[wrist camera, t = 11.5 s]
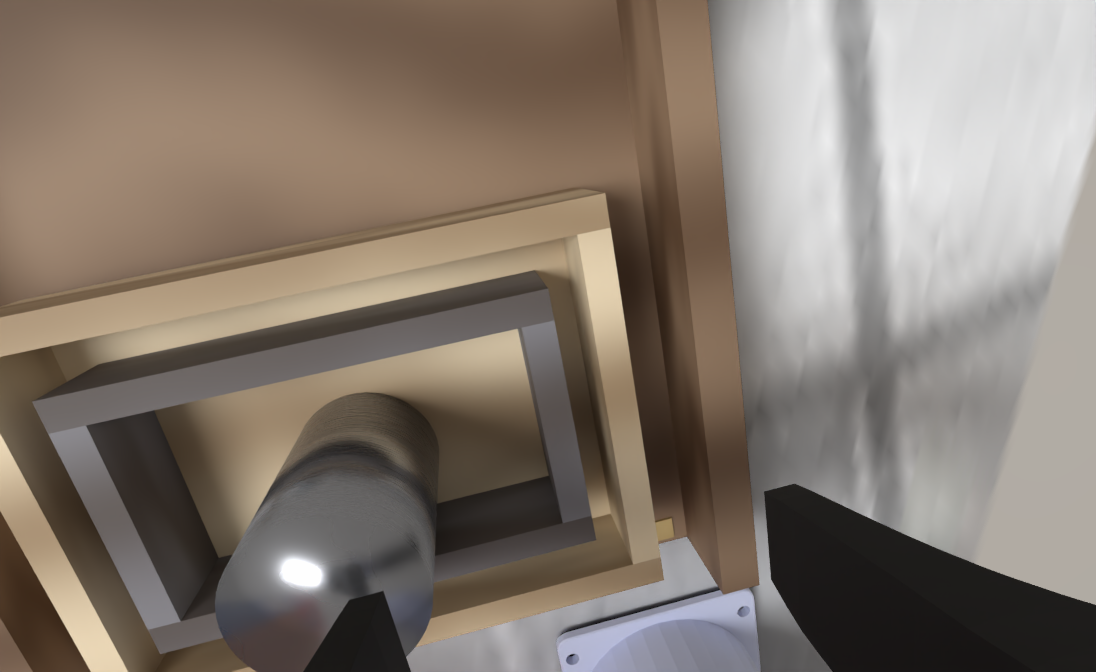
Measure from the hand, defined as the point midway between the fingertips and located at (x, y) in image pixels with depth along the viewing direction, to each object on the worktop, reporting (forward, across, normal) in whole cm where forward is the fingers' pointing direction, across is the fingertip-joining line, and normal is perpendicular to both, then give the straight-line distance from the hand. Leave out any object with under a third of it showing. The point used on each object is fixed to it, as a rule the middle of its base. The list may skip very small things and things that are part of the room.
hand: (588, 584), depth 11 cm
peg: (+7, +5, 0) cm, 9 cm away
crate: (+8, +5, -1) cm, 10 cm away
